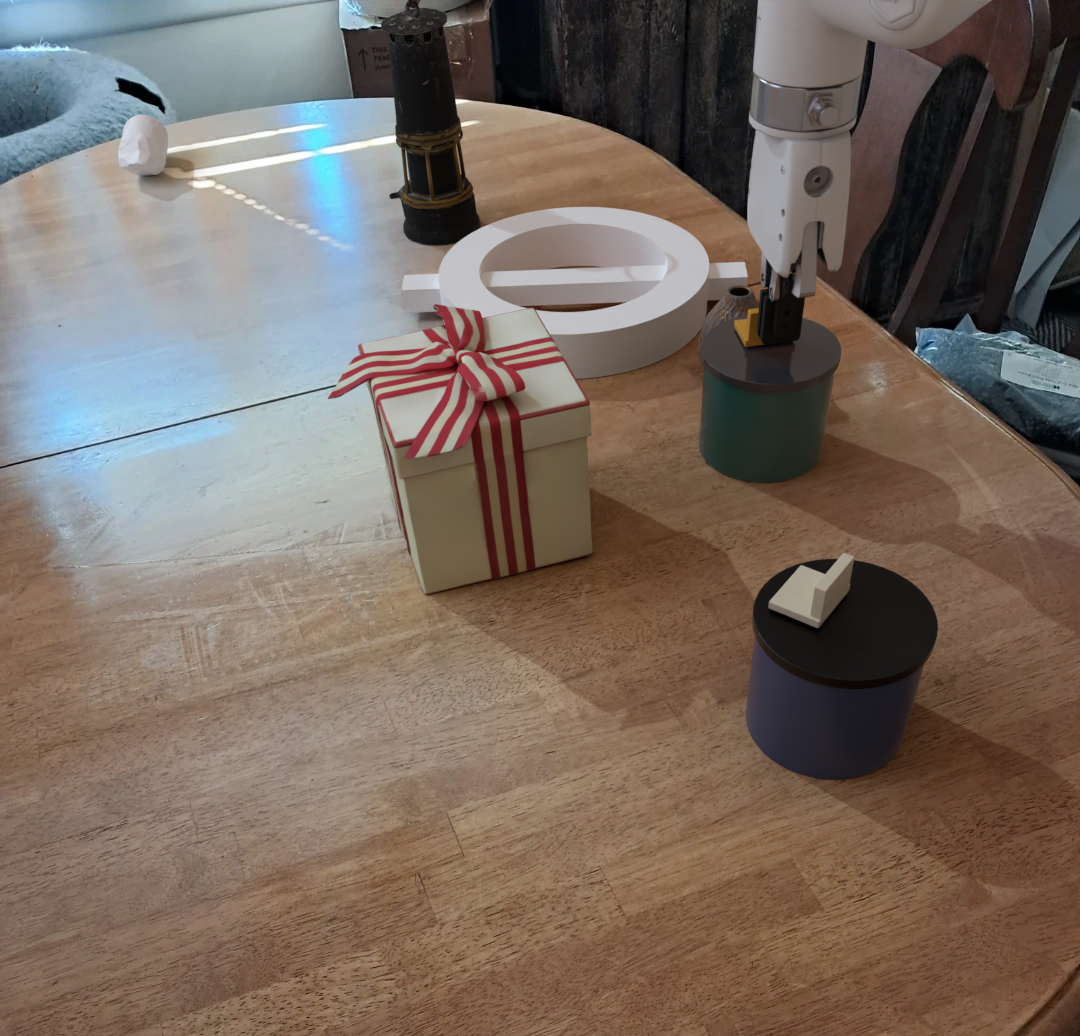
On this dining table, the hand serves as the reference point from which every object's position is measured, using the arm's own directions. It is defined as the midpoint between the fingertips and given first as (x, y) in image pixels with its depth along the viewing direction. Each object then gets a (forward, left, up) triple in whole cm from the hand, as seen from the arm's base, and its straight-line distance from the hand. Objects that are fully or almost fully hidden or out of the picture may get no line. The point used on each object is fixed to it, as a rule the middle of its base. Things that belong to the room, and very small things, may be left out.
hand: (777, 337), depth 94 cm
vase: (+9, -10, -12) cm, 18 cm away
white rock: (+100, -14, -12) cm, 102 cm away
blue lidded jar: (-19, +26, -12) cm, 34 cm away
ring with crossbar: (+30, -13, -12) cm, 35 cm away
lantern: (+55, -21, -12) cm, 60 cm away
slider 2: (-16, +26, -1) cm, 31 cm away
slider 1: (+2, -2, -2) cm, 4 cm away
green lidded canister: (+1, -1, -12) cm, 12 cm away
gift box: (+15, +23, -12) cm, 30 cm away
